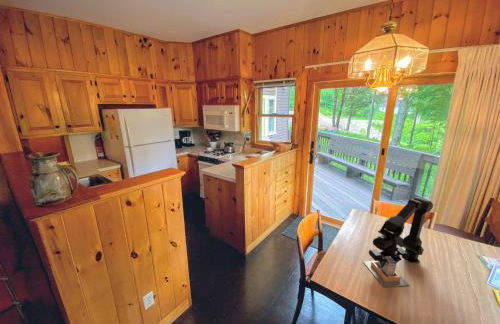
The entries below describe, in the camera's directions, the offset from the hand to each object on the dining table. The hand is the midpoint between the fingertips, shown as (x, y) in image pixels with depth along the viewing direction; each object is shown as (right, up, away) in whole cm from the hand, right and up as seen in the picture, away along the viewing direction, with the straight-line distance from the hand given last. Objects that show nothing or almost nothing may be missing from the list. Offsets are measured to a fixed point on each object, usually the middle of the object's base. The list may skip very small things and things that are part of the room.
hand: (385, 266), depth 113 cm
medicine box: (0, -2, +1) cm, 2 cm away
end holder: (0, -4, +1) cm, 4 cm away
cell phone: (+26, +4, +31) cm, 41 cm away
